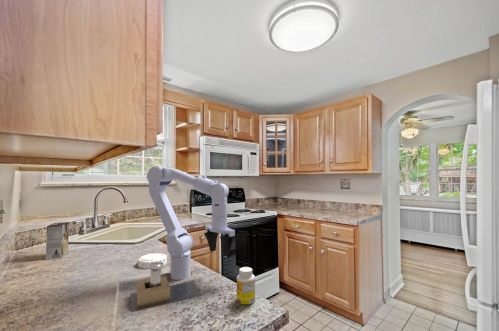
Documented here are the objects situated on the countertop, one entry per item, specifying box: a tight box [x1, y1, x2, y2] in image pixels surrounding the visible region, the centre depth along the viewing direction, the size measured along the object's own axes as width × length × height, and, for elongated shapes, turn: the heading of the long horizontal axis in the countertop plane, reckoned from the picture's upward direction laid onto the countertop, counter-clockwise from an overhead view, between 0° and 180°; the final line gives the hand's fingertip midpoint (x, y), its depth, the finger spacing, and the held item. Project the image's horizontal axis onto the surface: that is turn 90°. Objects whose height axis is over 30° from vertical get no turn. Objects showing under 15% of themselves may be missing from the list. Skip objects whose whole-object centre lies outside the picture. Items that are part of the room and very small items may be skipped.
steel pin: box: [148, 262, 164, 288], centre depth 73 cm, size 4×4×10 cm
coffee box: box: [45, 221, 70, 261], centre depth 117 cm, size 9×6×16 cm
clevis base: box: [130, 275, 203, 313], centre depth 75 cm, size 12×20×5 cm, turn 117°
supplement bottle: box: [236, 266, 256, 306], centre depth 71 cm, size 6×6×10 cm
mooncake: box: [137, 252, 168, 270], centre depth 105 cm, size 12×12×4 cm
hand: (219, 253), depth 87 cm, fingers open, 7 cm apart
